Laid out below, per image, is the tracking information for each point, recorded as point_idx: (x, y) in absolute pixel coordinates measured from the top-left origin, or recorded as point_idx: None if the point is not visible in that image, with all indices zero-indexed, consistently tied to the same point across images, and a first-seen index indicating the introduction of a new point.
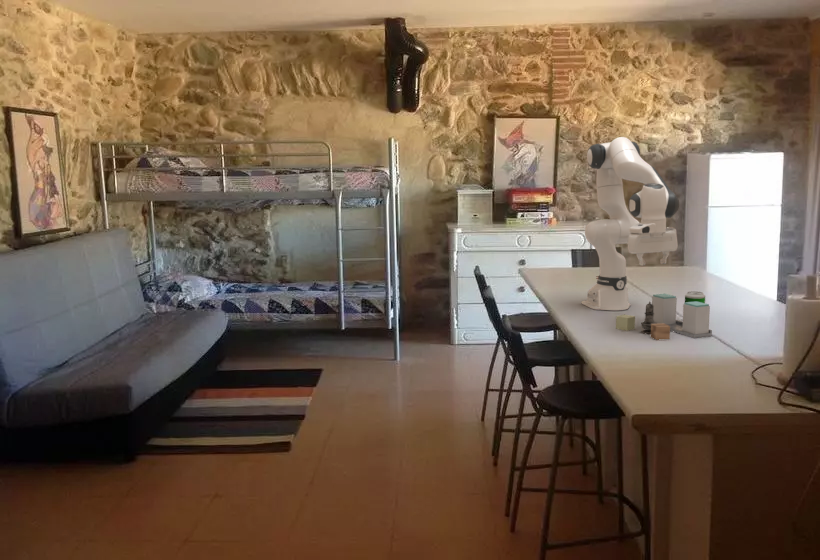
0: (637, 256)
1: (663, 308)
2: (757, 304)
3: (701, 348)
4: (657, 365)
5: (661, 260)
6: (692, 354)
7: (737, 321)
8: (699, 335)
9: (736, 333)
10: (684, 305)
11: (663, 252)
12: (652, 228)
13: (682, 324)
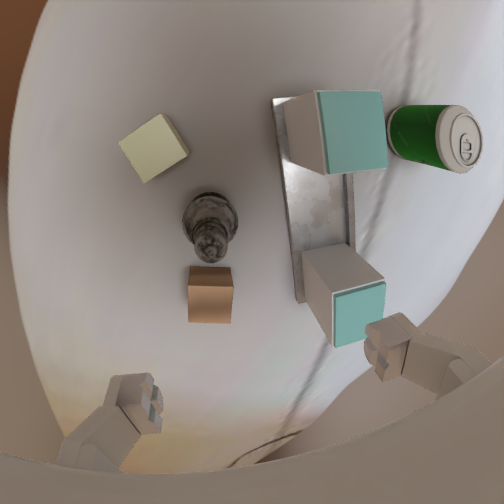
0: (72, 444)
1: (309, 169)
2: None
3: (254, 372)
4: None
5: (380, 353)
6: (213, 399)
7: (474, 167)
8: None
9: (408, 271)
10: (330, 295)
11: (453, 389)
12: None
13: (344, 186)
